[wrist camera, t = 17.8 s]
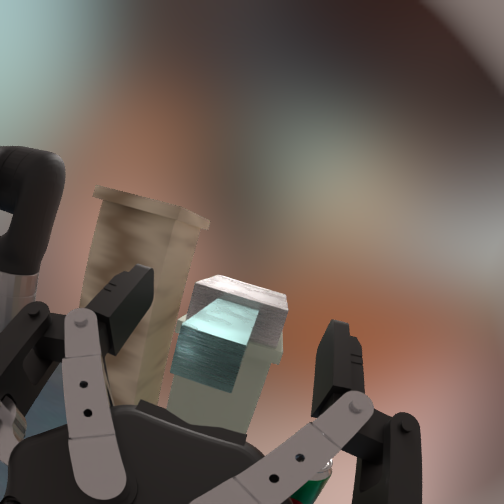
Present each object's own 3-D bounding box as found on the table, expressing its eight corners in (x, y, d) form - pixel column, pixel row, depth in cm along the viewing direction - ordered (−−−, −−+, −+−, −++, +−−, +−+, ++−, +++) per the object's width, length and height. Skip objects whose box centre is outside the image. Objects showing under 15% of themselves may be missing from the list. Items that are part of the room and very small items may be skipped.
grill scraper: (132, 357, 13) (144, 299, 13) (210, 302, 31) (218, 274, 31) (273, 405, 13) (294, 347, 13) (277, 322, 31) (285, 294, 31)
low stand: (141, 502, 22) (177, 319, 22) (168, 455, 32) (207, 300, 32) (214, 527, 22) (283, 352, 21) (228, 475, 32) (281, 322, 31)
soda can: (298, 539, 22) (346, 470, 21) (255, 545, 20) (298, 475, 20) (283, 511, 26) (321, 441, 26) (242, 513, 25) (277, 442, 25)
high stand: (62, 460, 23) (96, 184, 23) (101, 425, 33) (143, 202, 33) (124, 494, 23) (181, 206, 22) (154, 449, 33) (210, 220, 32)
